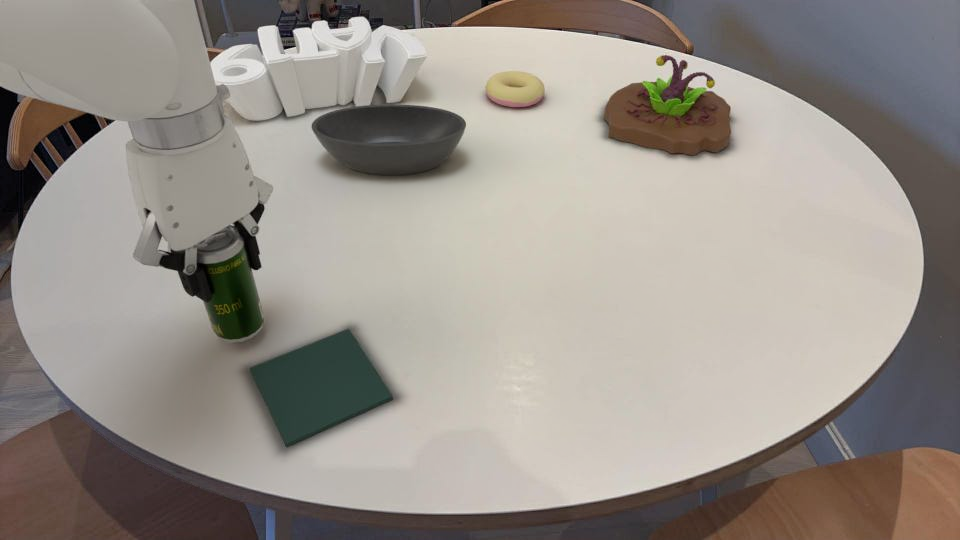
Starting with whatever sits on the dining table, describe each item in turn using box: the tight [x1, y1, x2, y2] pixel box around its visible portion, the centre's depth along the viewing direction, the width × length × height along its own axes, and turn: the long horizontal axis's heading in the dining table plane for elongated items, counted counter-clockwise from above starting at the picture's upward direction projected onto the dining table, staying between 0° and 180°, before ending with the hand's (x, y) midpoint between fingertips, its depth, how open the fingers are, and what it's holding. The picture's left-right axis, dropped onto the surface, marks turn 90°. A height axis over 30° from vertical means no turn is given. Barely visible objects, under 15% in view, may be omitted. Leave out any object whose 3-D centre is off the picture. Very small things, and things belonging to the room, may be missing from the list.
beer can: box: [197, 224, 265, 344], centre depth 71 cm, size 5×5×12 cm
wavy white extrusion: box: [210, 16, 428, 122], centre depth 116 cm, size 35×16×11 cm, turn 103°
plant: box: [603, 54, 732, 156], centre depth 109 cm, size 20×20×11 cm
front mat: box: [249, 328, 394, 448], centre depth 71 cm, size 11×11×1 cm
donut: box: [485, 70, 546, 108], centre depth 118 cm, size 10×5×9 cm
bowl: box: [311, 103, 467, 176], centre depth 102 cm, size 12×22×6 cm, turn 89°
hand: (225, 278), depth 71 cm, fingers closed on beer can, 5 cm apart
